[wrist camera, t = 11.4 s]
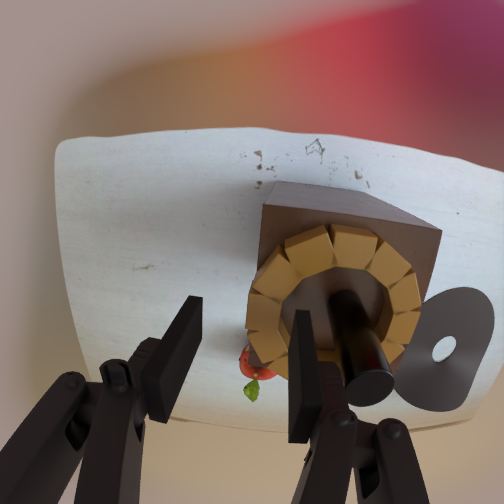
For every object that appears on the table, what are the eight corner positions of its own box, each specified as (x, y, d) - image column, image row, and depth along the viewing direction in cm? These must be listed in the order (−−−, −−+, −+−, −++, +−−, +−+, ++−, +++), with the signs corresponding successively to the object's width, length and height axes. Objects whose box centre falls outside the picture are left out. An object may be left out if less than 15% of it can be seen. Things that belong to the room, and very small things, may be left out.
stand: (276, 180, 38) (263, 203, 17) (364, 192, 37) (442, 230, 16) (268, 265, 42) (247, 365, 21) (349, 274, 40) (395, 375, 20)
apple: (240, 327, 45) (228, 366, 36) (283, 324, 44) (281, 364, 35) (247, 363, 47) (238, 405, 38) (287, 362, 46) (285, 404, 37)
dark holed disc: (511, 298, 38) (538, 321, 29) (467, 380, 44) (484, 408, 35) (420, 274, 39) (447, 302, 30) (373, 374, 45) (385, 412, 36)
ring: (259, 214, 17) (255, 220, 15) (426, 238, 16) (440, 247, 14) (243, 361, 21) (239, 378, 19) (382, 373, 20) (388, 389, 18)
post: (330, 287, 18) (352, 368, 10) (365, 291, 18) (403, 369, 10) (323, 319, 19) (337, 407, 11) (356, 322, 19) (384, 407, 11)
